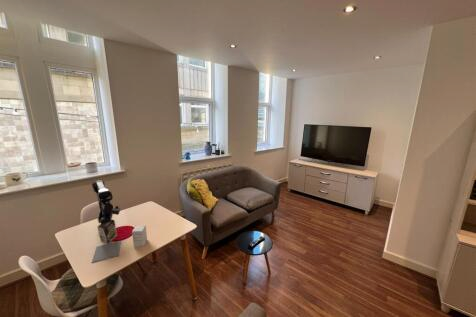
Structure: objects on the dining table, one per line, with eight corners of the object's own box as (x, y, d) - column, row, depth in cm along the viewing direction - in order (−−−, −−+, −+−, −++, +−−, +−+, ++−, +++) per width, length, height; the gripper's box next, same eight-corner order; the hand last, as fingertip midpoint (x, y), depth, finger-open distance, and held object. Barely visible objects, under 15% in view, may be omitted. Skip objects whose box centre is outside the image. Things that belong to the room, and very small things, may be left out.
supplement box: (137, 240, 148) (135, 225, 146) (147, 240, 149) (146, 225, 146) (133, 246, 141) (131, 231, 139) (143, 246, 142) (142, 230, 139)
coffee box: (108, 244, 142) (104, 229, 135) (100, 242, 143) (96, 226, 136) (117, 235, 150) (114, 220, 143) (110, 232, 151) (107, 217, 144)
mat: (96, 247, 140) (96, 246, 140) (120, 241, 147) (120, 240, 147) (91, 262, 125) (91, 262, 125) (118, 255, 132) (118, 255, 132)
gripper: (117, 209, 141) (120, 229, 144) (119, 200, 157) (122, 217, 160) (98, 213, 136) (102, 232, 139) (103, 202, 152) (106, 220, 156)
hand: (109, 225), depth 149 cm, fingers closed
